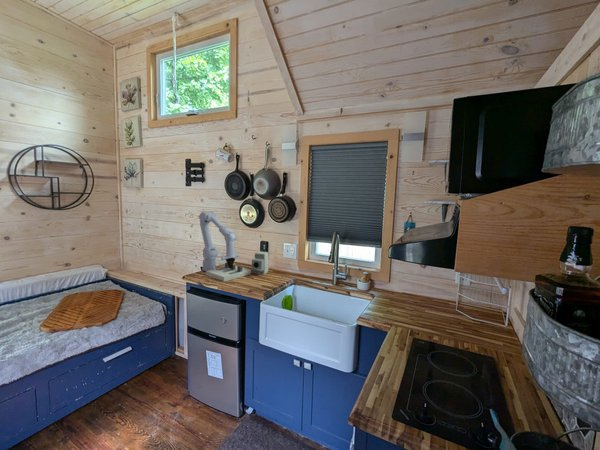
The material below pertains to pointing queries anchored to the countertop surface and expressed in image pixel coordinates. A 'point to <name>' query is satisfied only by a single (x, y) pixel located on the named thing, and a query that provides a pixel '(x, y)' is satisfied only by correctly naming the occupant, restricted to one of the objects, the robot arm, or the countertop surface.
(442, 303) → the countertop surface
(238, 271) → the breaker panel
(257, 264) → the circuit breaker
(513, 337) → the countertop surface
